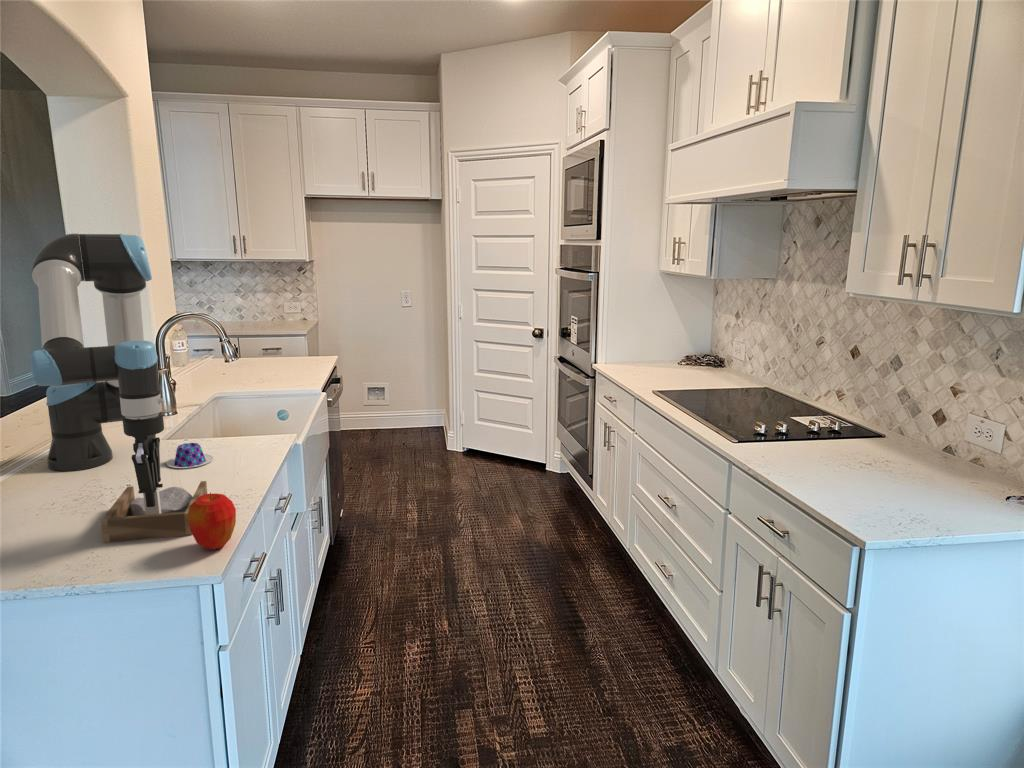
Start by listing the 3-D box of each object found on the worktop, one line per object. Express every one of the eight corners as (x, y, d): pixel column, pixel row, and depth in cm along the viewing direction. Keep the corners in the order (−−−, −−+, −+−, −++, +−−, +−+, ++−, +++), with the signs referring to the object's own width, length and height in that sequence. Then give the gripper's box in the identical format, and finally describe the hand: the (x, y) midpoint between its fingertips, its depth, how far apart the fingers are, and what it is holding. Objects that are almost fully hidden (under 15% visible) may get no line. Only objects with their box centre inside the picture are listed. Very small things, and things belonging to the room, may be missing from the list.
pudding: (210, 468, 181) (209, 450, 180) (162, 472, 177) (160, 454, 176) (215, 454, 192) (214, 437, 191) (170, 458, 188) (168, 440, 187)
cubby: (130, 506, 154) (127, 486, 153) (208, 500, 159) (206, 481, 158) (103, 543, 136) (100, 520, 135) (192, 534, 141) (190, 513, 139)
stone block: (200, 515, 155) (179, 497, 160) (200, 498, 153) (179, 480, 158) (148, 534, 146) (128, 514, 151) (147, 516, 144) (126, 496, 149)
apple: (183, 545, 136) (178, 491, 133) (227, 532, 142) (223, 480, 139) (200, 561, 129) (195, 505, 127) (245, 547, 136) (241, 493, 133)
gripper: (154, 422, 133) (165, 529, 138) (169, 405, 145) (179, 504, 150) (113, 424, 131) (126, 532, 136) (131, 407, 143) (143, 507, 148)
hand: (153, 518), depth 143 cm, fingers closed
